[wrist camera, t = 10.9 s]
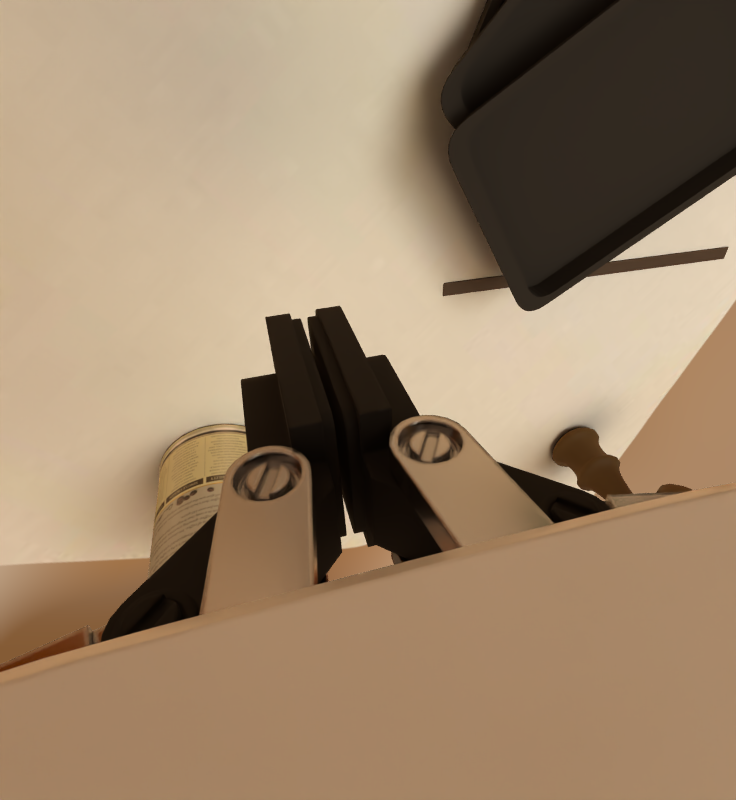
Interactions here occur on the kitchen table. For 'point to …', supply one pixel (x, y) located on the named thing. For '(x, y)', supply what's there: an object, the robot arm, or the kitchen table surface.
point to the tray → (589, 128)
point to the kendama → (595, 464)
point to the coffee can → (192, 485)
